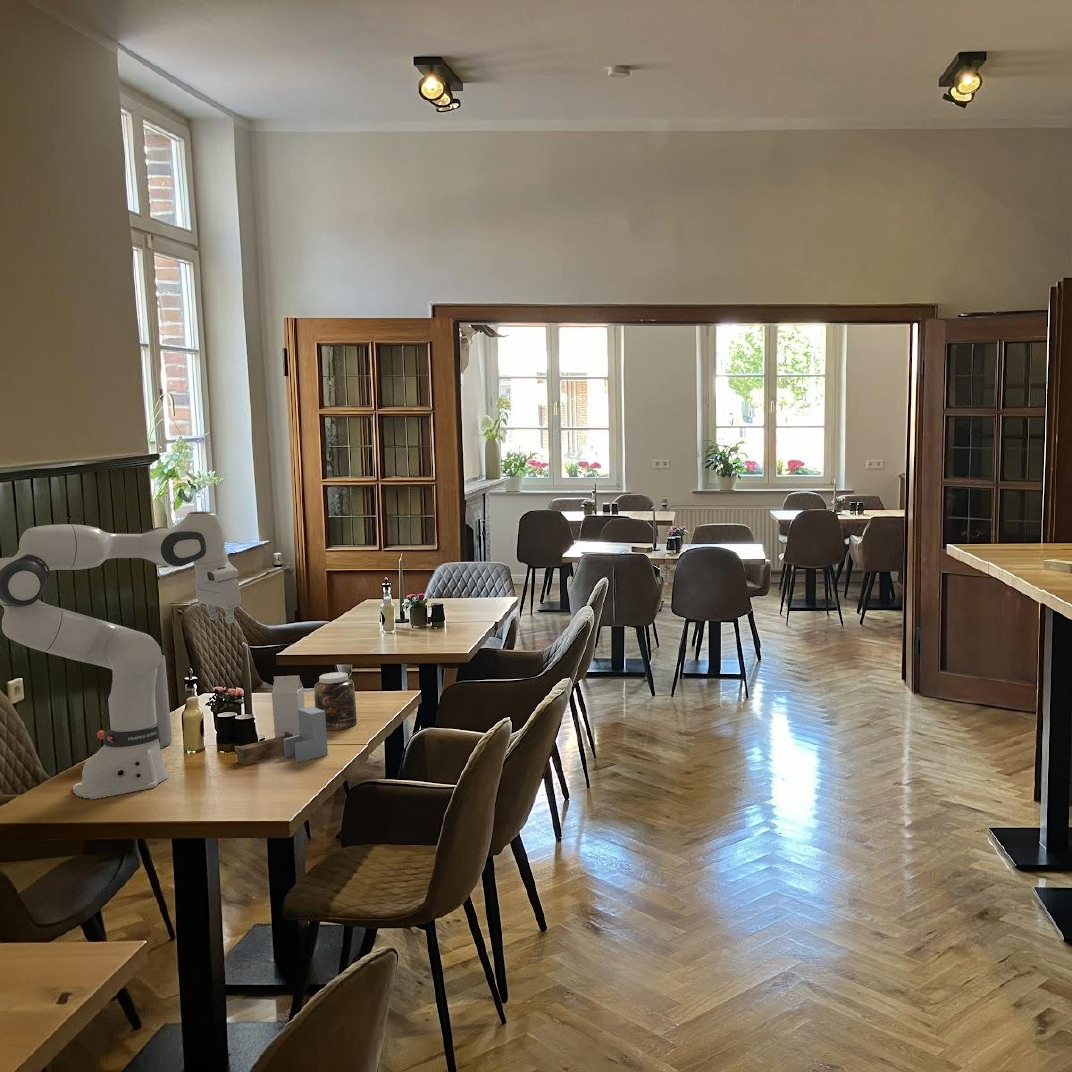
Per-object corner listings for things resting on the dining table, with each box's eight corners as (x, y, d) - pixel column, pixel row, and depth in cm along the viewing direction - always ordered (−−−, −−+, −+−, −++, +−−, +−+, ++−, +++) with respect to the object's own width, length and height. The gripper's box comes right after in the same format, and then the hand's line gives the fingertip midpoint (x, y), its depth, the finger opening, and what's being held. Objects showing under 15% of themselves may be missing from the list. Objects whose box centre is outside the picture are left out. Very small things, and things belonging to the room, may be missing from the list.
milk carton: (300, 745, 297) (296, 678, 295) (275, 746, 297) (270, 679, 295) (306, 738, 304) (302, 672, 302) (282, 739, 304) (277, 673, 302)
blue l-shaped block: (297, 762, 281) (294, 718, 280) (284, 757, 287) (281, 713, 285) (327, 754, 287) (324, 711, 286) (314, 749, 292) (311, 706, 291)
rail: (243, 764, 282) (242, 746, 281) (237, 761, 284) (236, 743, 284) (293, 751, 291) (292, 734, 291) (287, 749, 294) (286, 731, 293)
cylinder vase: (123, 744, 307) (115, 658, 305) (168, 736, 313) (161, 652, 310) (128, 754, 296) (120, 666, 294) (175, 746, 302) (168, 659, 299)
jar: (322, 720, 323) (318, 671, 321) (360, 719, 322) (357, 670, 321) (312, 731, 311) (308, 680, 309) (352, 730, 310) (348, 679, 309)
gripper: (185, 570, 288) (194, 620, 291) (217, 576, 273) (227, 628, 275) (207, 565, 292) (216, 614, 295) (240, 570, 277) (250, 622, 279)
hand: (222, 621), depth 285 cm, fingers open, 8 cm apart
